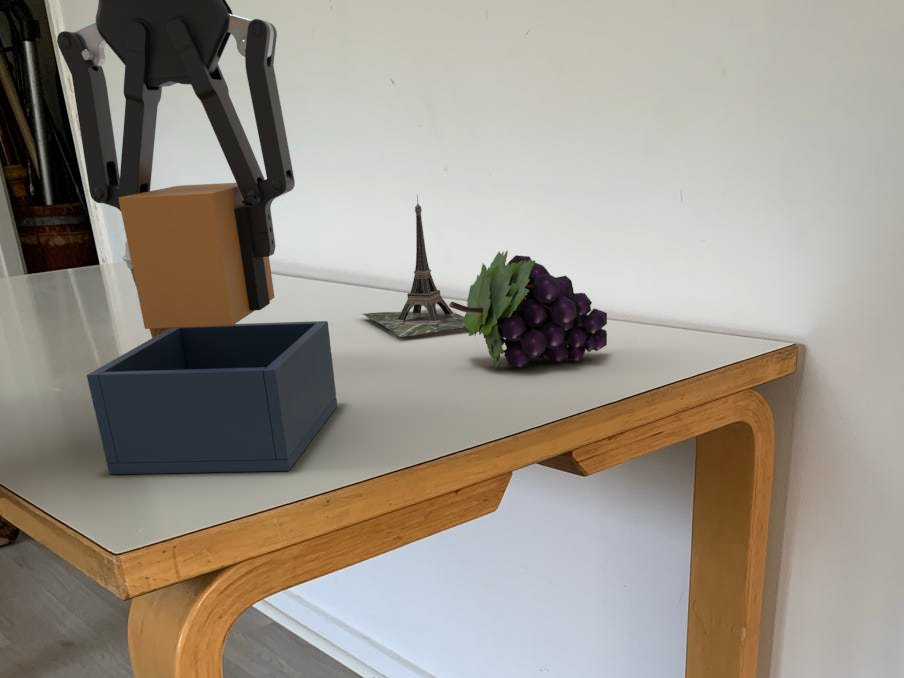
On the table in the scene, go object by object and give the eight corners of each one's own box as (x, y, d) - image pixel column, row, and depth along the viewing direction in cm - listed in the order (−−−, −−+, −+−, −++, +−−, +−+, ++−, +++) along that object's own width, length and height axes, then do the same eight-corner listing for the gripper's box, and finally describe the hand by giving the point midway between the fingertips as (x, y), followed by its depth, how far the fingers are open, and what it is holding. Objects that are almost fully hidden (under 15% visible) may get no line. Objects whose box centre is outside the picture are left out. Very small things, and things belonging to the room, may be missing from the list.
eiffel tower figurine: (359, 318, 116) (346, 194, 110) (439, 309, 119) (432, 188, 113) (400, 340, 104) (389, 202, 97) (488, 329, 107) (483, 194, 101)
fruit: (605, 398, 91) (452, 374, 86) (570, 356, 99) (428, 332, 94) (642, 288, 86) (480, 255, 81) (601, 253, 94) (452, 221, 89)
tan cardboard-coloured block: (144, 329, 65) (117, 197, 62) (197, 300, 75) (177, 185, 71) (232, 325, 65) (211, 192, 61) (274, 297, 75) (258, 181, 71)
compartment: (109, 474, 68) (86, 374, 64) (188, 410, 82) (173, 325, 79) (289, 471, 67) (275, 369, 63) (337, 406, 81) (327, 320, 78)
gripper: (315, -93, 62) (355, 294, 72) (24, -71, 63) (105, 304, 74) (286, -117, 55) (334, 313, 66) (-39, -92, 57) (61, 323, 67)
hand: (213, 308), depth 70 cm, fingers closed on tan cardboard-coloured block, 6 cm apart
